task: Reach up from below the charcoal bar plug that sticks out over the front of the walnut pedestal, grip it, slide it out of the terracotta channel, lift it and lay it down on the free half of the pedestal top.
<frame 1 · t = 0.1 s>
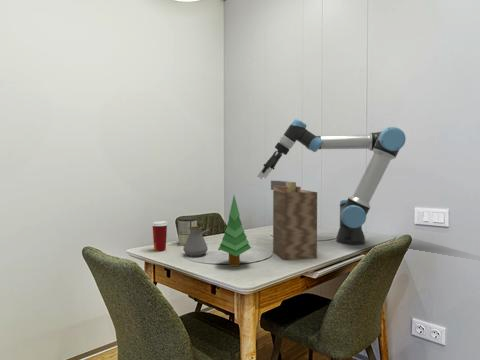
hand: (261, 177, 185), 36 cm above the table, tool tilted 35°, fingers open, 13 cm apart
coffee can: (187, 244, 183), on the table
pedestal: (294, 255, 158), on the table
decorative tree: (234, 265, 143), on the table
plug: (282, 190, 161), point 30 cm above the table, touching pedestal
paper cup: (159, 250, 168), on the table
coffee pot: (205, 253, 162), on the table
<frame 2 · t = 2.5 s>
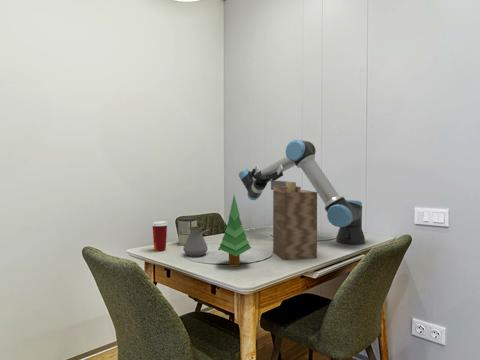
hand: (269, 166, 181), 42 cm above the table, tool pointing upward, fingers open, 13 cm apart
nothing on the table moved.
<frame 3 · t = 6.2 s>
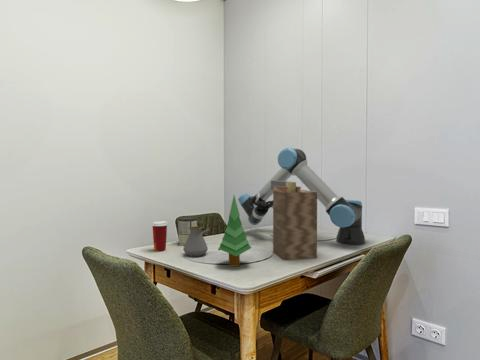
hand: (271, 194, 177), 27 cm above the table, tool pointing upward, fingers open, 13 cm apart
nothing on the table moved.
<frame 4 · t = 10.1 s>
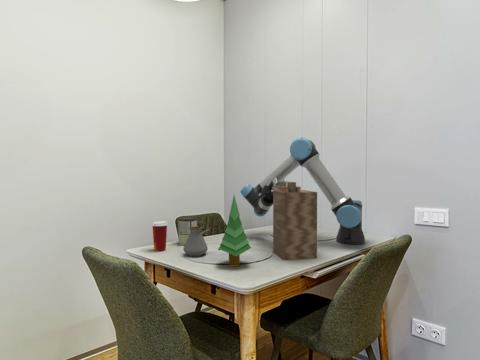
hand: (280, 180, 163), 35 cm above the table, tool pointing upward, fingers closed on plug, 4 cm apart
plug: (282, 190, 161), point 30 cm above the table, touching gripper, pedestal
everything else where it was.
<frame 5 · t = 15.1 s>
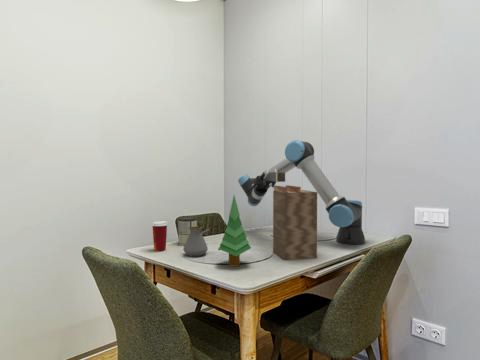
hand: (271, 171, 177), 39 cm above the table, tool pointing upward, fingers closed on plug, 4 cm apart
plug: (273, 180, 174), point 34 cm above the table, touching gripper
everything else where it was.
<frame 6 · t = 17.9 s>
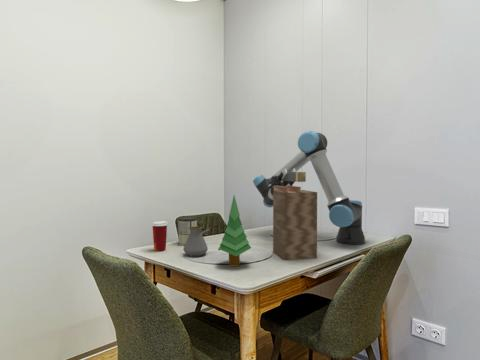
hand: (290, 170, 170), 39 cm above the table, tool pointing upward, fingers closed on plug, 4 cm apart
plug: (292, 180, 168), point 34 cm above the table, touching gripper
everything else where it was.
when the fingers open (36 cm above the table, at t = 20.2 s): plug drops 1 cm, resting on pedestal.
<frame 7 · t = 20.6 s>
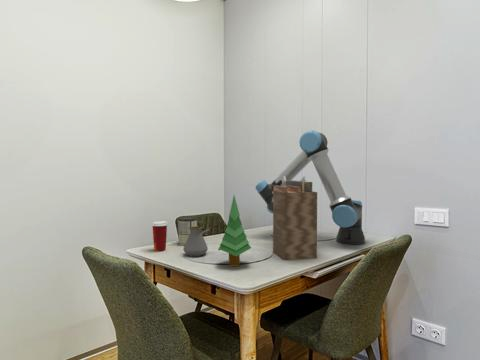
hand: (295, 178, 166), 36 cm above the table, tool pointing upward, fingers open, 10 cm apart
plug: (298, 190, 163), point 30 cm above the table, touching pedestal
everything else where it was.
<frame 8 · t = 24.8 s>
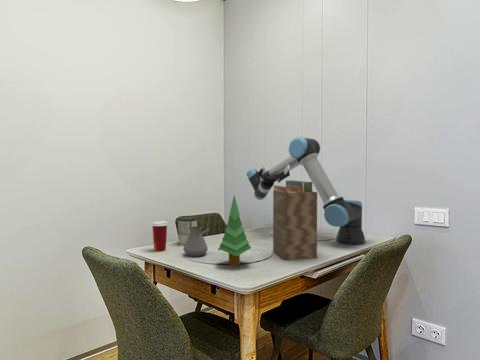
hand: (277, 166, 185), 42 cm above the table, tool pointing upward, fingers open, 13 cm apart
nothing on the table moved.
at the end: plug inside the target area (0.1 cm from its centre), point 30.0 cm above the table; the gripper is holding nothing; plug tilted 0° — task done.
